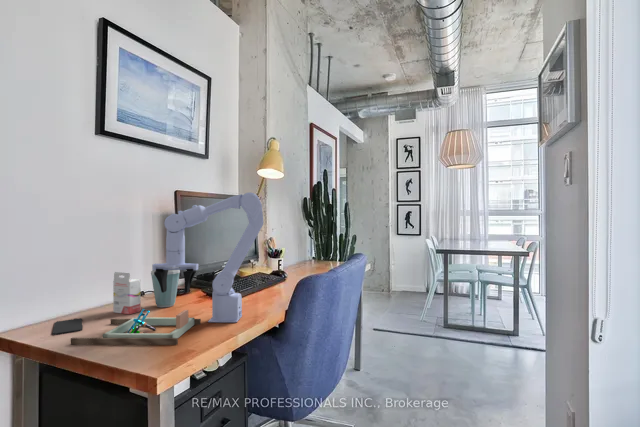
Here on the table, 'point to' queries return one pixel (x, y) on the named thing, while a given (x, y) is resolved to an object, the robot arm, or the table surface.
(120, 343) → the guide rails
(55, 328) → the phone
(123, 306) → the ink cartridge box
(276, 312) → the table surface
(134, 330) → the stick construction toy
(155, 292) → the disposable coffee cup
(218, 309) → the robot arm
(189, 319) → the open rectangular frame
